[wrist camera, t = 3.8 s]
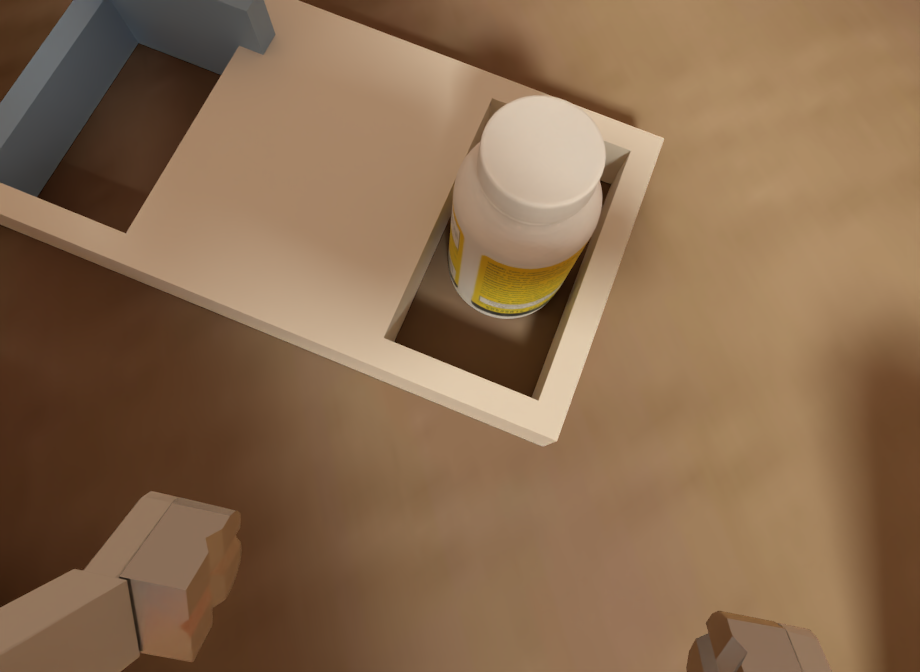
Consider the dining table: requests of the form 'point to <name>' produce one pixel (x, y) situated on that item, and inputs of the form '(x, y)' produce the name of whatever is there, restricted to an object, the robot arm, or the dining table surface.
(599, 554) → the dining table surface
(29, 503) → the dining table surface
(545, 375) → the pocket rack
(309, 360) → the dining table surface
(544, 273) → the supplement bottle
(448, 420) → the dining table surface
